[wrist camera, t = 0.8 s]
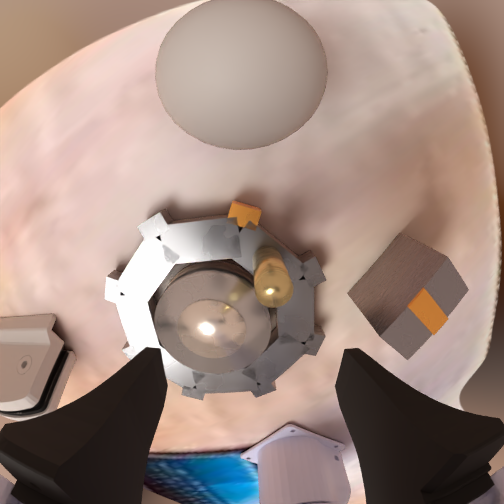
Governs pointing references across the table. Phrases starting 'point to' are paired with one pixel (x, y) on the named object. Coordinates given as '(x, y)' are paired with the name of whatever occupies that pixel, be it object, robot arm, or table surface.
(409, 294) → the marked link
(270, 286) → the sprocket
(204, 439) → the table surface
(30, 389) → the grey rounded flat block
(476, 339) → the table surface
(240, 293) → the hub
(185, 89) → the lightbulb
